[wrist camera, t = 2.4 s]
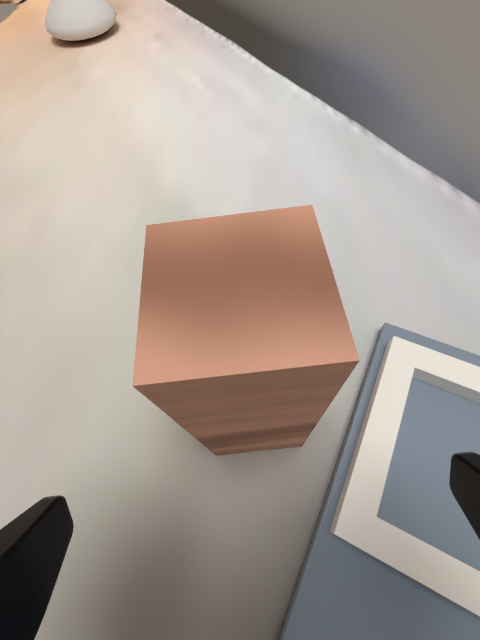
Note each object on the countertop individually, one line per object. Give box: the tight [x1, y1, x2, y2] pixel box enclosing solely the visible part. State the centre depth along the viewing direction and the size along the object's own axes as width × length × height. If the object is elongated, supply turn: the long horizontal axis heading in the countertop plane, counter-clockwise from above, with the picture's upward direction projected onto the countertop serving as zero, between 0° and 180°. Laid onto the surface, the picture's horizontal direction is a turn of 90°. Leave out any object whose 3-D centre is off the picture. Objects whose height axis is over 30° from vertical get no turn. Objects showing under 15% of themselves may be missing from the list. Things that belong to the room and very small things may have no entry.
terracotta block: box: [133, 205, 359, 455], centre depth 14 cm, size 5×5×13 cm
